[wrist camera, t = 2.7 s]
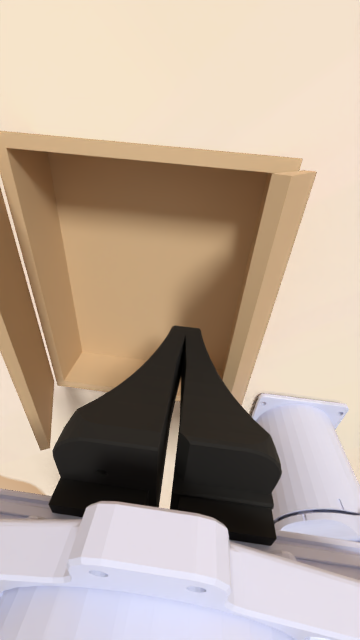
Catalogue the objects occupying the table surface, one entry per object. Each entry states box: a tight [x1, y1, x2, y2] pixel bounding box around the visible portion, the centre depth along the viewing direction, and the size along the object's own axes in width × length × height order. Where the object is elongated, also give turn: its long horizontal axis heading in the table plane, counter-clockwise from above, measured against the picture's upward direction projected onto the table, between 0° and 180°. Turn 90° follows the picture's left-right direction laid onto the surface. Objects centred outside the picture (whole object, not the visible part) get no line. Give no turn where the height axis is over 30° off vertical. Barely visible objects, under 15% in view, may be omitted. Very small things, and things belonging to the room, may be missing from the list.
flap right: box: [223, 170, 317, 405], centre depth 13 cm, size 15×6×1 cm
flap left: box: [0, 188, 54, 450], centre depth 13 cm, size 15×6×1 cm
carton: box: [0, 131, 302, 401], centre depth 17 cm, size 16×13×4 cm
